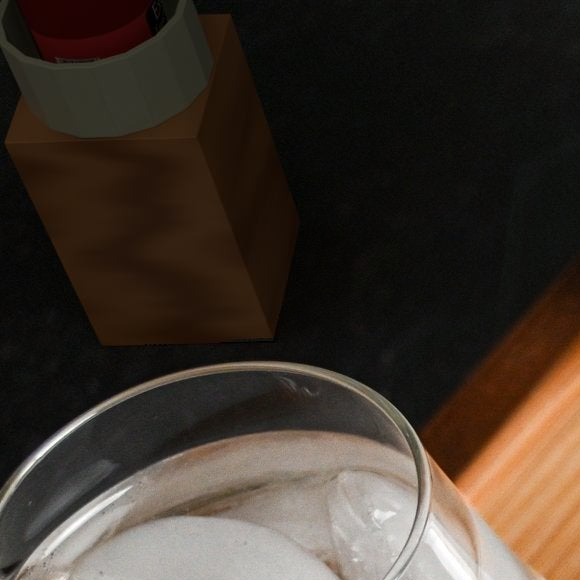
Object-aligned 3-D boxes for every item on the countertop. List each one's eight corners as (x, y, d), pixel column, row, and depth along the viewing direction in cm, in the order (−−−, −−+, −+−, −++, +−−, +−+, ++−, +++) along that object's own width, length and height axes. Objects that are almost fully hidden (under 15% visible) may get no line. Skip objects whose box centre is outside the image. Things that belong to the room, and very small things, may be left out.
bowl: (7, 140, 118) (-26, 71, 114) (49, 21, 124) (19, -50, 120) (194, 135, 117) (167, 64, 113) (226, 15, 124) (202, -56, 119)
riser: (101, 346, 132) (3, 143, 118) (136, 226, 139) (47, 19, 124) (274, 342, 132) (196, 137, 117) (301, 221, 138) (230, 13, 124)
